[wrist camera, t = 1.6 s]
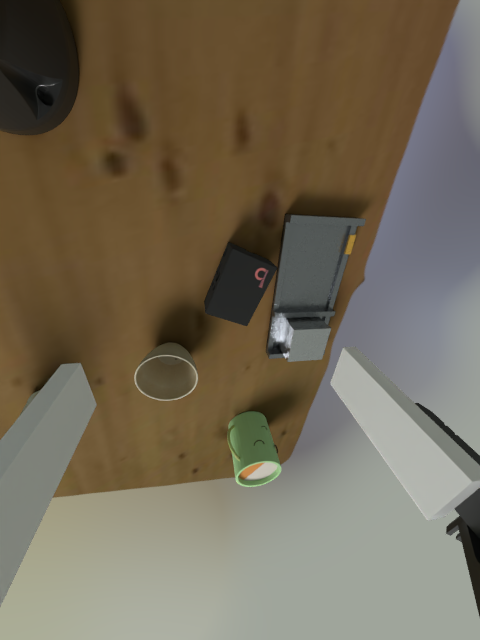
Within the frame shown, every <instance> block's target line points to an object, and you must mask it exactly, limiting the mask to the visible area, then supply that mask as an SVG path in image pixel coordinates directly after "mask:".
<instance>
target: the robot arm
mask: <svg viewBox="0 0 480 640" xmlns="http://www.w3.org/2000/svg"><path fill="white" fill-rule="evenodd" d="M78 79H79V69H78V58H77V52H76V46H75V42H74V38H73V34H72V31H71V28H70V25H69V22H68V19H67V16H66V14H65V11H64V9H63V7H62V4H61V2H60V0H0V130H1V131H4V132H8V133H12V134H18V135H37V134H42V133H45V132H48V131H50V130H52V129H54V128H55V127H57V126H58V125H59V124H61V123H62V122H63V121H64V119H65V118H66V117H67V116H68V114H69V113H70V111H71V109H72V107H73V104H74V102H75V98H76V94H77V89H78ZM330 384H331V385H332V387H333V388H334V390H335V391H336V393H337V394H338V395H339V397H340V398H341V399H342V401H343V402H344V404H345V405H346V407H347V408H348V409H349V411H350V412H351V414H352V415H353V416H354V418H355V419H356V420H357V422H358V423H359V425H360V426H361V428H362V429H363V430H364V432H365V433H366V435H367V436H368V438H369V439H370V440H371V442H372V443H373V445H374V446H375V448H376V449H377V450H378V452H379V453H380V455H381V456H382V457H383V459H384V460H385V462H386V463H387V464H388V466H389V467H390V468H391V470H392V471H393V473H394V474H395V476H396V477H397V479H398V480H399V481H400V482H401V484H402V486H403V487H404V488H405V490H406V491H407V493H408V494H409V495H410V497H411V498H412V499H413V501H414V503H415V504H416V505H417V507H418V508H419V510H420V511H421V512H422V514H423V515H424V517H425V518H426V519H427V521H429V520H434V519H438V518H442V517H445V516H446V515H448V514H449V513H450V512H451V511H453V510H454V509H455V510H456V511H457V512H458V514H459V515H460V516H459V517H458V518H456V519H455V520H454V521H453V522H451V523H450V524H449V525H448V526H447V531H446V533H447V534H448V535H452V534H453V533H455V532H456V531H457V530H459V532H460V533H459V534H458V535H457V536H456V539H457V540H459V541H461V542H462V544H463V549H464V553H465V557H466V561H467V565H468V570H469V574H470V578H471V582H472V586H473V590H474V595H475V599H476V603H477V608H478V612H479V616H480V456H479V455H478V454H477V453H476V452H475V451H474V450H473V449H472V448H471V447H469V446H468V445H467V444H466V443H465V442H464V441H463V440H462V439H461V438H460V437H459V436H458V435H455V433H454V432H453V431H452V430H451V429H450V428H449V427H448V426H445V425H444V422H442V421H441V420H440V419H439V418H438V417H437V416H436V415H435V414H434V413H433V412H431V411H430V410H428V409H427V408H425V407H424V406H422V405H420V404H419V403H414V402H413V401H412V400H411V399H410V398H409V397H407V396H406V395H405V394H404V393H403V392H402V391H401V390H400V389H399V388H398V387H397V386H396V385H395V384H394V383H393V382H392V381H391V380H390V379H389V378H387V377H386V376H385V375H384V374H383V373H382V372H381V371H380V370H379V369H378V368H377V367H376V366H375V365H374V364H373V363H372V362H371V361H370V360H369V359H368V358H366V356H364V355H363V354H362V353H361V352H360V351H359V350H358V349H357V348H356V347H346V348H343V350H342V353H341V355H340V358H339V361H338V363H337V366H336V369H335V372H334V375H333V377H332V380H331V383H330ZM96 405H97V404H96V402H95V399H94V397H93V394H92V391H91V389H90V386H89V383H88V381H87V378H86V376H85V373H84V370H83V368H82V365H81V363H73V364H61V365H60V367H59V368H58V369H57V370H56V372H55V373H54V374H53V375H52V377H51V378H50V379H49V380H48V382H47V383H46V384H45V385H44V387H43V388H42V389H41V390H40V392H39V393H38V394H37V395H36V397H35V398H34V399H33V400H32V402H31V403H30V404H29V405H28V407H27V408H26V409H25V410H24V412H23V413H22V414H21V415H20V417H19V418H18V419H17V420H16V421H15V423H14V424H13V425H12V426H11V428H10V429H9V430H8V431H7V433H6V434H5V435H4V436H3V438H2V439H1V440H0V606H1V604H2V602H3V600H4V598H5V596H6V594H7V591H8V589H9V587H10V585H11V583H12V581H13V579H14V577H15V575H16V573H17V570H18V568H19V566H20V564H21V562H22V560H23V558H24V556H25V554H26V552H27V550H28V548H29V545H30V543H31V541H32V539H33V537H34V535H35V532H36V531H37V529H38V527H39V524H40V522H41V520H42V518H43V516H44V514H45V512H46V510H47V508H48V506H49V503H50V501H51V499H52V497H53V495H54V493H55V491H56V489H57V487H58V485H59V483H60V481H61V478H62V476H63V474H64V472H65V470H66V468H67V466H68V464H69V462H70V460H71V457H72V455H73V453H74V451H75V449H76V447H77V445H78V443H79V441H80V439H81V437H82V434H83V432H84V430H85V428H86V426H87V424H88V422H89V420H90V418H91V416H92V413H93V411H94V409H95V407H96Z"/></svg>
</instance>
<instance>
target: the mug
mask: <svg viewBox="0 0 480 640" xmlns="http://www.w3.org/2000/svg"><path fill="white" fill-rule="evenodd" d="M227 439H228V444H229V447H230V449H231V451H232V456H233V463H234V470H235V478H236V482H237V483H238V484H239V485H242V486H246V487H253V486H259V485H263V484H265V483H268V482H270V481H272V480H274V479H275V478H276V477H277V476H278V475H279V474H280V472H281V465H280V462H279V459H278V455H277V453H278V449H277V447H276V449H277V452H276V449H275V446H276V445H274V443H273V439H272V436H271V433H270V430H269V427H268V423H267V420H266V417H265V416H264V415H263V414H262V413H259V412H255V411H249V412H244V413H241V414H239V415H237V416H235V417H234V418H233V419H232V420H231V421H230V423H229V430H228V434H227Z"/></svg>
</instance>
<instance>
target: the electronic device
mask: <svg viewBox="0 0 480 640" xmlns="http://www.w3.org/2000/svg"><path fill="white" fill-rule="evenodd" d="M276 270H277V267H276V266H275V265H274V264H273V263H272V262H270V261H269V260H268V259H266V258H263V257H261V256H259V255H257V254H255V253H251V252H248V251H246V250H245V249H243V248H241V247H239V246H237V245H234V244H232V243H230V242H228V244H227V247H226V249H225V251H224V254H223V256H222V259H221V261H220V264H219V266H218V269H217V271H216V274H215V276H214V279H213V281H212V284H211V286H210V288H209V291H208V293H207V296H206V298H205V301H204V302H205V313H206V314H209V315H212V316H216V317H219V318H222V319H225V320H228V321H232V322H235V323H238V324H241V325H244V326H247V325H248V323H249V321H250V319H251V317H252V316H253V314H254V312H255V310H256V308H257V306H258V304H259V302H260V300H261V298H262V296H263V294H264V293H265V291H266V289H267V287H268V285H269V283H270V281H271V279H272V277H273V275H274V273H275V271H276Z"/></svg>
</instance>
